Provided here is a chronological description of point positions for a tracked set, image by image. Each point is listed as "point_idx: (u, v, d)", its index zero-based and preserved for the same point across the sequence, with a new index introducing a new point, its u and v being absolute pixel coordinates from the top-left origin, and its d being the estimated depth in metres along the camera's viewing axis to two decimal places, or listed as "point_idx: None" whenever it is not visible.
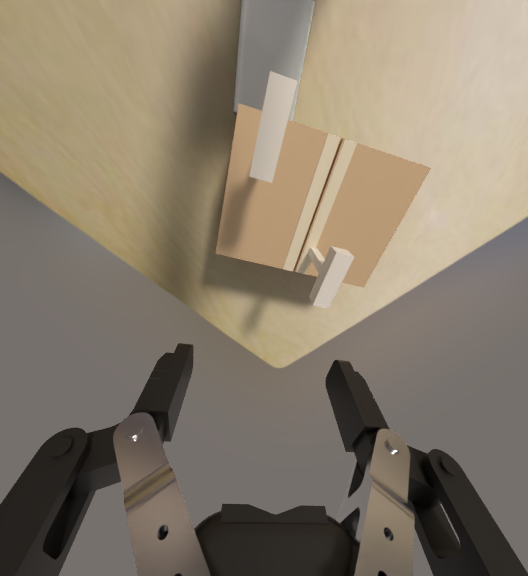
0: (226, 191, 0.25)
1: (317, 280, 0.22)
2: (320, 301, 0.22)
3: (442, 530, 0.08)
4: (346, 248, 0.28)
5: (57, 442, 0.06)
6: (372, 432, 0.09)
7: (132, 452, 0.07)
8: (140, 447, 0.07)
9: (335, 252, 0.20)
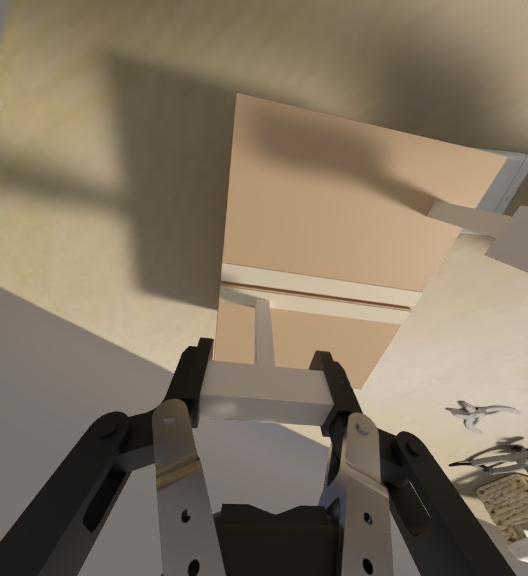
0: (379, 130, 0.12)
1: (253, 371, 0.10)
2: (214, 403, 0.09)
3: (413, 506, 0.08)
4: None
5: (104, 423, 0.07)
6: (345, 416, 0.09)
7: (171, 433, 0.07)
8: (173, 431, 0.07)
9: (331, 399, 0.10)
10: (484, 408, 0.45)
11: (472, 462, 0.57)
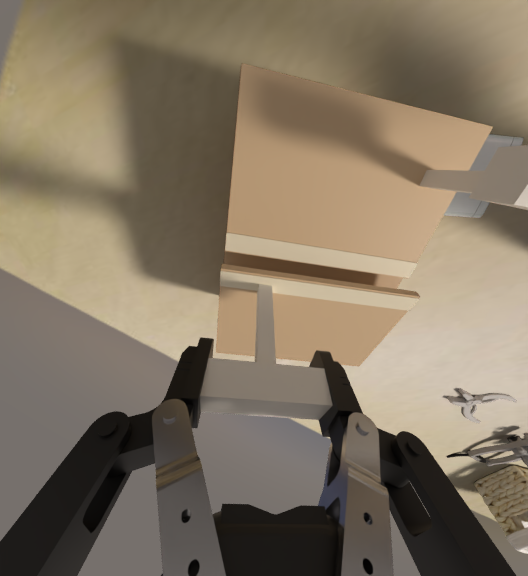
0: (373, 100, 0.13)
1: (253, 369, 0.10)
2: (214, 402, 0.10)
3: (413, 506, 0.08)
4: None
5: (105, 423, 0.07)
6: (345, 416, 0.09)
7: (171, 433, 0.07)
8: (173, 431, 0.07)
9: (330, 400, 0.10)
10: (481, 396, 0.46)
11: (469, 453, 0.57)
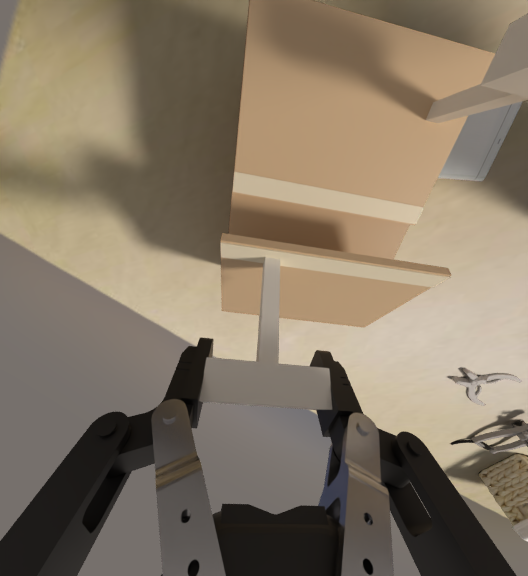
0: (380, 24, 0.13)
1: (254, 370, 0.10)
2: (214, 402, 0.10)
3: (413, 506, 0.08)
4: None
5: (104, 423, 0.07)
6: (346, 416, 0.09)
7: (170, 434, 0.07)
8: (173, 431, 0.07)
9: (330, 403, 0.10)
10: (485, 376, 0.45)
11: (474, 439, 0.57)
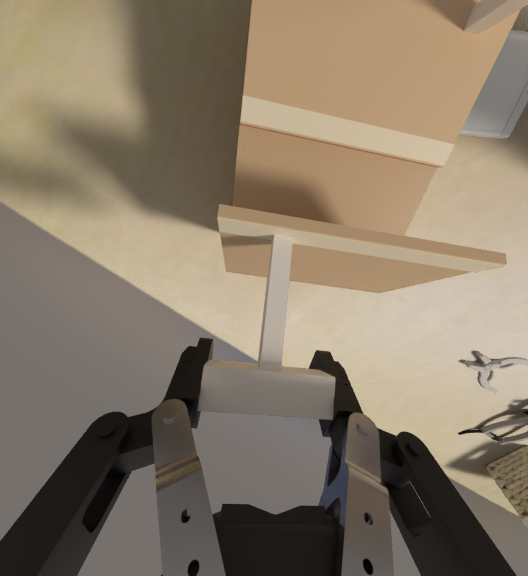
0: None
1: (254, 380, 0.09)
2: None
3: (413, 506, 0.08)
4: None
5: (104, 423, 0.07)
6: (346, 416, 0.09)
7: (170, 434, 0.07)
8: (173, 431, 0.07)
9: (331, 414, 0.10)
10: (499, 360, 0.43)
11: (483, 429, 0.55)
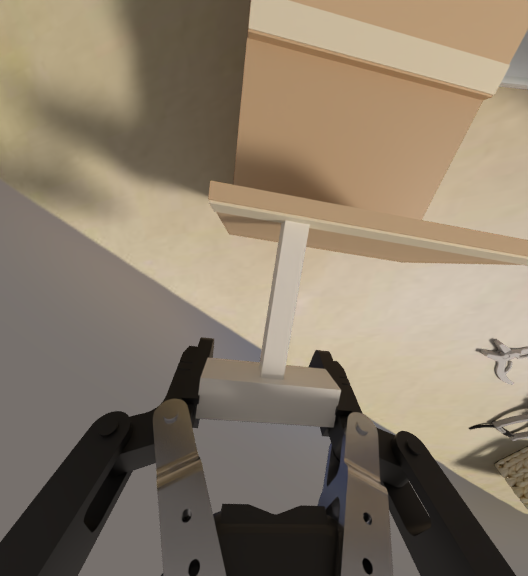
0: None
1: (254, 391, 0.09)
2: None
3: (412, 505, 0.08)
4: None
5: (106, 423, 0.07)
6: (345, 416, 0.09)
7: (171, 433, 0.07)
8: (174, 431, 0.07)
9: (332, 422, 0.09)
10: (519, 349, 0.40)
11: (495, 423, 0.52)
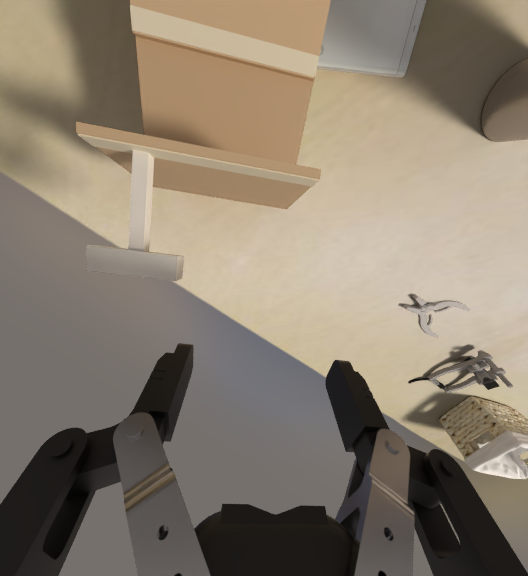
0: None
1: (121, 255, 0.15)
2: None
3: (442, 530, 0.08)
4: (181, 177, 0.19)
5: (57, 442, 0.06)
6: (372, 432, 0.09)
7: (132, 452, 0.07)
8: (140, 447, 0.07)
9: (174, 277, 0.16)
10: (435, 303, 0.48)
11: (429, 376, 0.60)
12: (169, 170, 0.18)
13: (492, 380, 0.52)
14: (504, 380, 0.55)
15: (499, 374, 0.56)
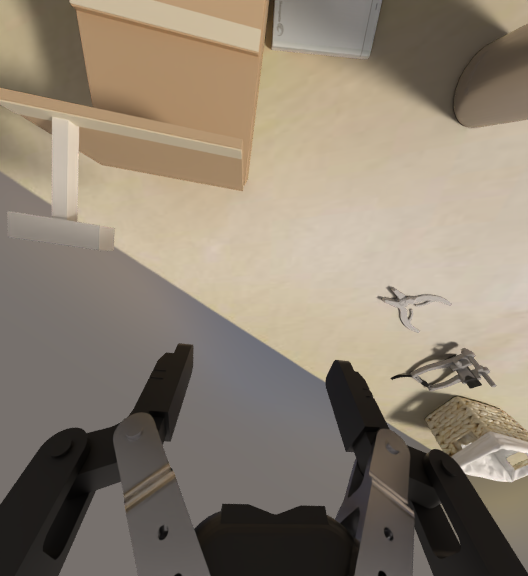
0: None
1: (43, 222, 0.15)
2: None
3: (442, 530, 0.08)
4: (122, 152, 0.19)
5: (57, 442, 0.06)
6: (372, 432, 0.09)
7: (132, 452, 0.07)
8: (140, 447, 0.07)
9: (97, 246, 0.16)
10: (414, 297, 0.47)
11: (412, 373, 0.59)
12: (104, 143, 0.18)
13: (474, 378, 0.51)
14: (488, 379, 0.54)
15: (483, 373, 0.55)
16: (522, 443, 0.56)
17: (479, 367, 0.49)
